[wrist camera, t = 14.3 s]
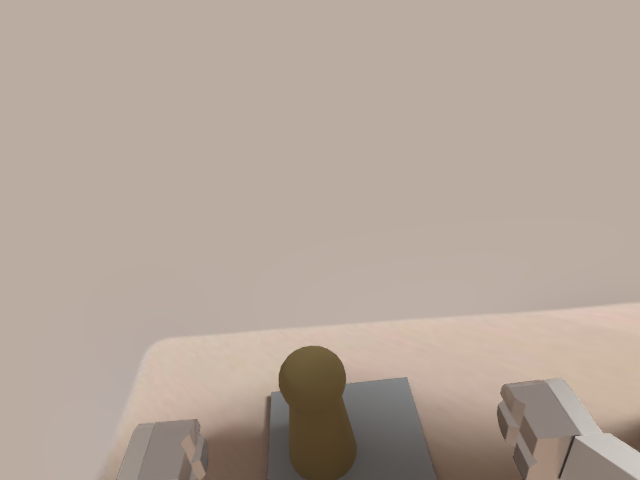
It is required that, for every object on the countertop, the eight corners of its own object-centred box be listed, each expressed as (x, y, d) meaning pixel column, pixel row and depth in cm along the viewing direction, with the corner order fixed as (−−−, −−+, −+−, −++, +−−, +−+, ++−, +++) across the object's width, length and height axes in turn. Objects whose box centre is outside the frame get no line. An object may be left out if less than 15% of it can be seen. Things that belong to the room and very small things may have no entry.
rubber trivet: (406, 381, 44) (406, 377, 43) (450, 530, 32) (450, 526, 31) (272, 396, 44) (271, 392, 43) (264, 551, 32) (263, 547, 31)
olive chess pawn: (364, 426, 39) (358, 340, 33) (347, 491, 34) (337, 404, 28) (302, 412, 41) (287, 328, 35) (278, 472, 36) (256, 387, 30)
